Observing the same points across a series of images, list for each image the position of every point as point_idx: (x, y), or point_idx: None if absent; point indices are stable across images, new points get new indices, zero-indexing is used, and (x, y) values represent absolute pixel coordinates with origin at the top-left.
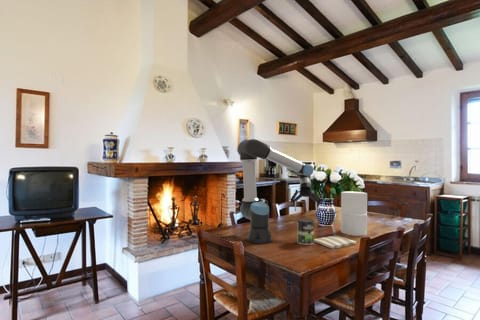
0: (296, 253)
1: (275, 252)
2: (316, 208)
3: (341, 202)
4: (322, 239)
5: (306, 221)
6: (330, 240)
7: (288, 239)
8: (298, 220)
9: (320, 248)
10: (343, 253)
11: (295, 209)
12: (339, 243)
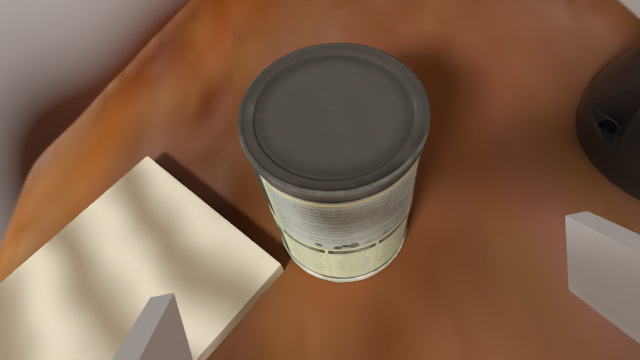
0: (348, 29)
1: (451, 3)
2: (152, 310)
3: None
4: (209, 287)
5: (313, 72)
6: (145, 284)
7: (489, 245)
8: (400, 67)
9: (229, 144)
10: (105, 117)
11: (573, 224)
12: (88, 234)
